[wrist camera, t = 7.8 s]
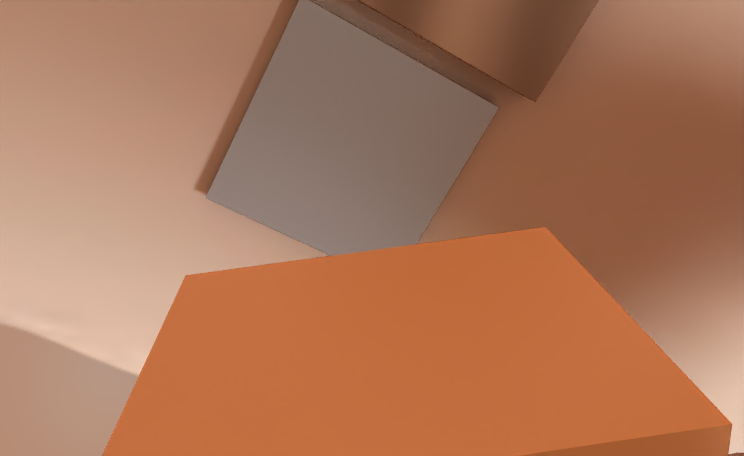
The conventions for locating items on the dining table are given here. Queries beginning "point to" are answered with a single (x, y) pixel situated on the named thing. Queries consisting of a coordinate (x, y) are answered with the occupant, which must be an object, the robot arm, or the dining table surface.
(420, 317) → the orange bevelled cube
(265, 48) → the dining table surface
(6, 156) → the dining table surface
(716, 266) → the dining table surface
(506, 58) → the post stand
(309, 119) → the rubber pad
